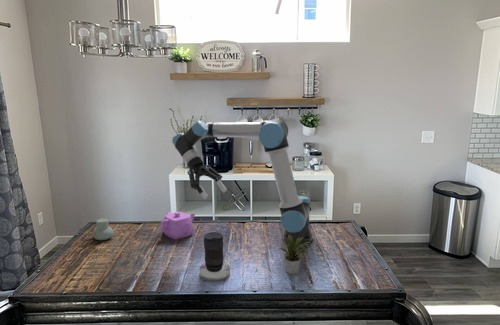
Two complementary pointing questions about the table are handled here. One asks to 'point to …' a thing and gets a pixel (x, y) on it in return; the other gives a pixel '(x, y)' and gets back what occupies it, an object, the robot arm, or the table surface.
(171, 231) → the teakettle
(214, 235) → the camera lens
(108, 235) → the air freshener
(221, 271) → the cap plate
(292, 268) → the house plant
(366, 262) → the table surface
